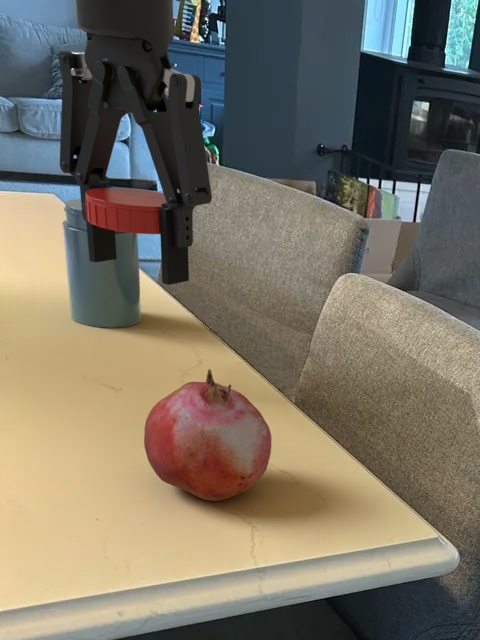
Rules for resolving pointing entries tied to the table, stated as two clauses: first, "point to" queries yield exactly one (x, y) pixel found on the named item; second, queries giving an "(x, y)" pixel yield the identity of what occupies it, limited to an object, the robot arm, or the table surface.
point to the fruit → (207, 440)
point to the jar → (101, 276)
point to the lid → (124, 209)
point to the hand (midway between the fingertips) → (138, 270)
